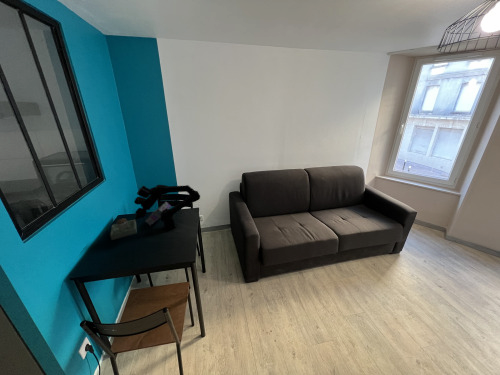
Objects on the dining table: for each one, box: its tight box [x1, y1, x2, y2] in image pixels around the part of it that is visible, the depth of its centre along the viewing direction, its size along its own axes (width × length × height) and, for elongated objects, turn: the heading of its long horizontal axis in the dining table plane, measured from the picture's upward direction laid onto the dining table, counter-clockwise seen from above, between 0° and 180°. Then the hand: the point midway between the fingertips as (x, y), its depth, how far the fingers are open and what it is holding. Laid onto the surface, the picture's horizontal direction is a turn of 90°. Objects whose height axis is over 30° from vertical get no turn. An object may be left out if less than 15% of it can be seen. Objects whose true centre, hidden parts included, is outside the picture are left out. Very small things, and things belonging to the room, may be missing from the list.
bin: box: [110, 218, 138, 241], centre depth 139 cm, size 15×15×4 cm
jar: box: [116, 217, 130, 232], centre depth 138 cm, size 6×6×8 cm
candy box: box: [145, 201, 172, 226], centre depth 150 cm, size 14×6×16 cm
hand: (138, 215), depth 135 cm, fingers open, 9 cm apart
